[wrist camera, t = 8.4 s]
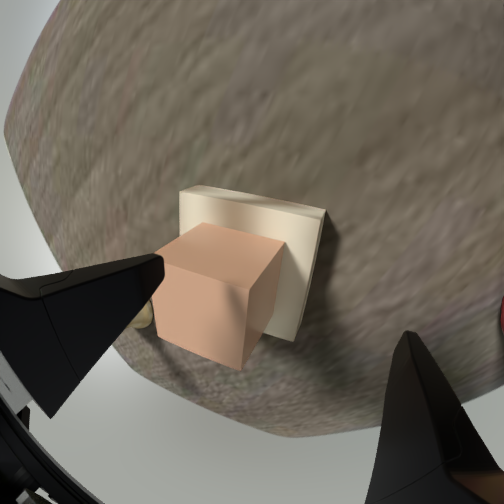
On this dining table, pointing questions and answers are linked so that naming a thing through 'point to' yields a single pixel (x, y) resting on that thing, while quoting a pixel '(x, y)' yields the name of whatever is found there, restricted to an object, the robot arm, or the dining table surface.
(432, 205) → the dining table surface
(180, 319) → the cube
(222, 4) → the dining table surface
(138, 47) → the dining table surface
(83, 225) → the dining table surface
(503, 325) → the smoothie
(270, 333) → the base
